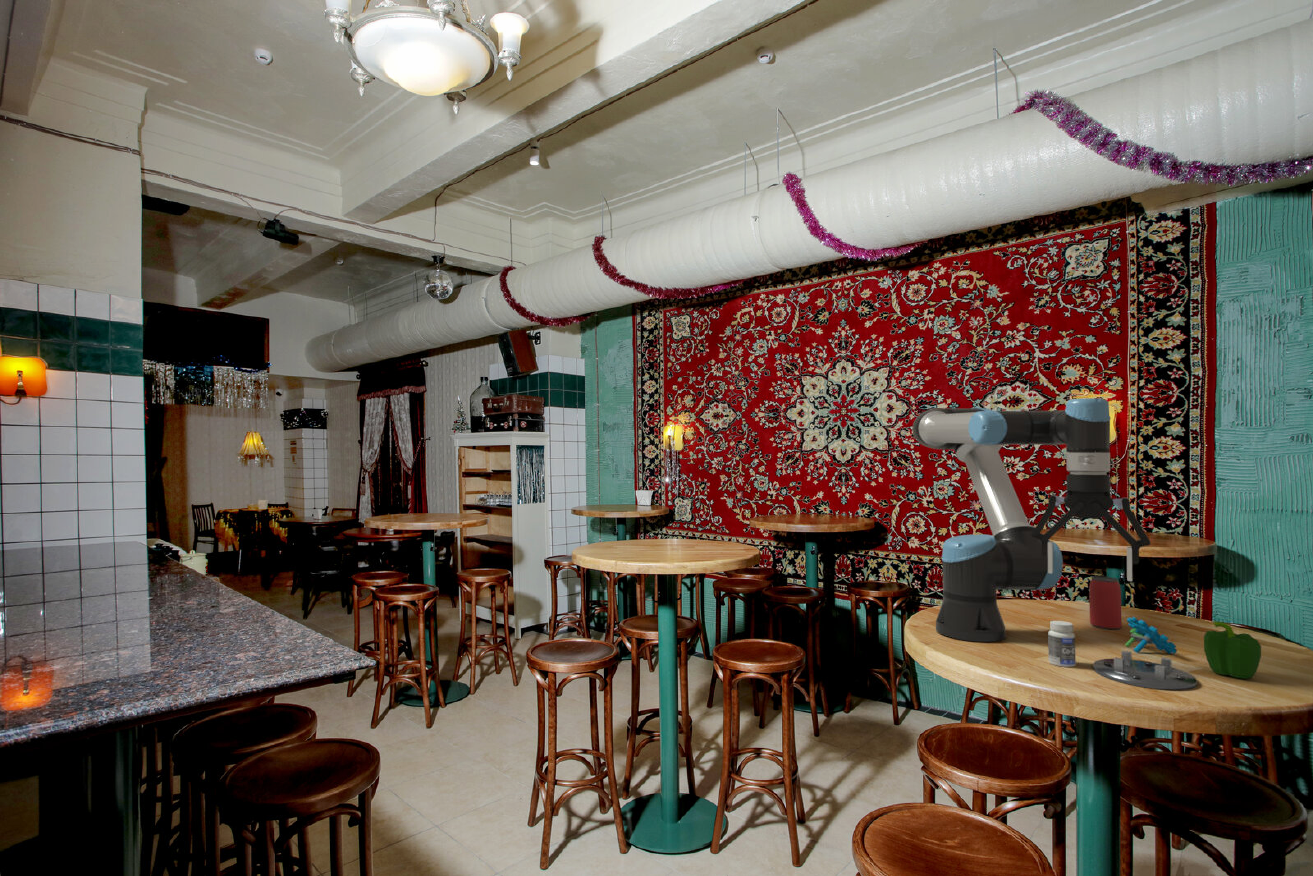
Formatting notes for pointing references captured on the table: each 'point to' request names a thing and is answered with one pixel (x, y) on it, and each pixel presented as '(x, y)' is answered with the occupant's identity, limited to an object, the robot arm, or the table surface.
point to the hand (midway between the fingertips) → (1088, 576)
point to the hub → (1145, 673)
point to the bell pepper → (1232, 652)
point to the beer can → (1105, 603)
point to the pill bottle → (1061, 644)
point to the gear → (1147, 637)
